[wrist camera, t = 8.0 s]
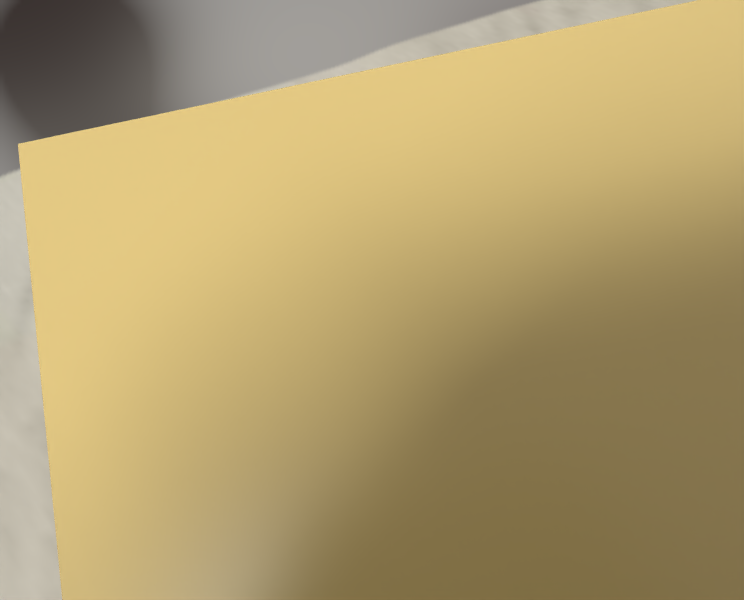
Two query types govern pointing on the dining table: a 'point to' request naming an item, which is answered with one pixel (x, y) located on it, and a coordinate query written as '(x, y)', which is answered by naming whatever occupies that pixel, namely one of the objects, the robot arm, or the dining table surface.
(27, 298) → the dining table surface
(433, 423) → the tan wooden brick
